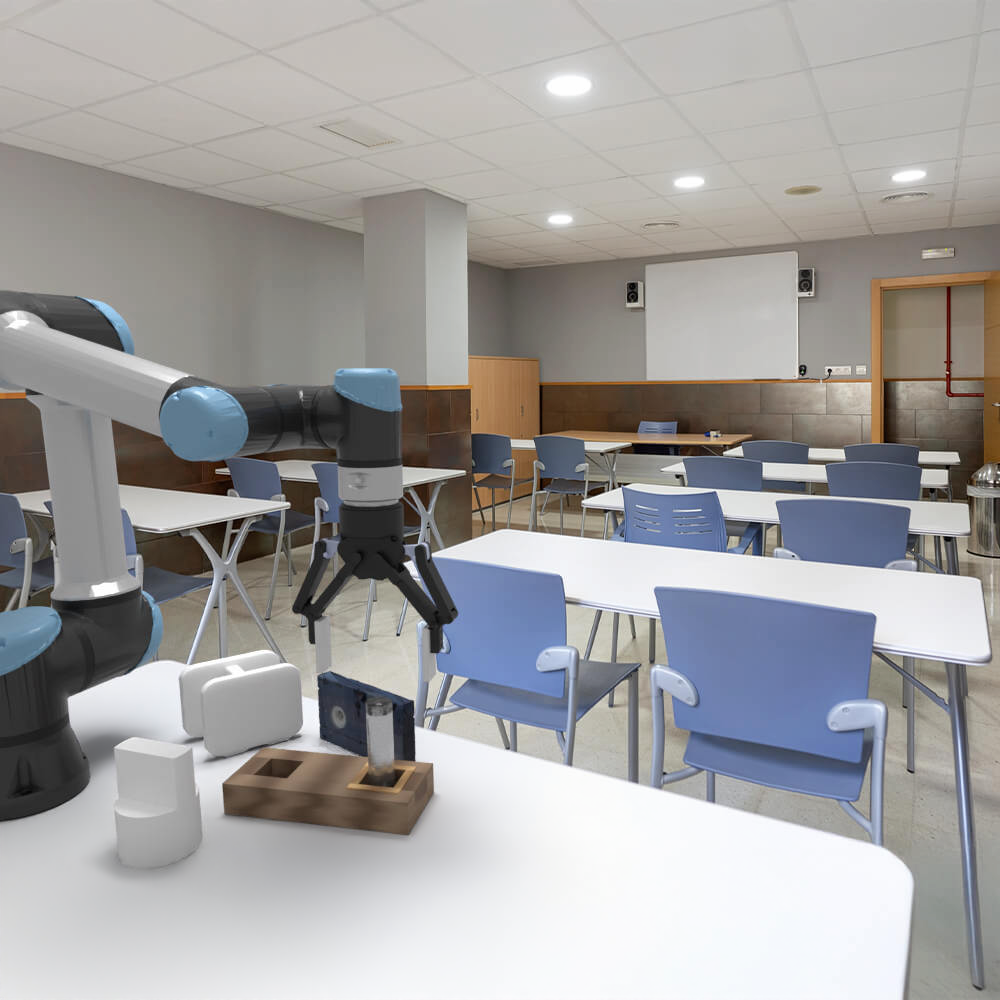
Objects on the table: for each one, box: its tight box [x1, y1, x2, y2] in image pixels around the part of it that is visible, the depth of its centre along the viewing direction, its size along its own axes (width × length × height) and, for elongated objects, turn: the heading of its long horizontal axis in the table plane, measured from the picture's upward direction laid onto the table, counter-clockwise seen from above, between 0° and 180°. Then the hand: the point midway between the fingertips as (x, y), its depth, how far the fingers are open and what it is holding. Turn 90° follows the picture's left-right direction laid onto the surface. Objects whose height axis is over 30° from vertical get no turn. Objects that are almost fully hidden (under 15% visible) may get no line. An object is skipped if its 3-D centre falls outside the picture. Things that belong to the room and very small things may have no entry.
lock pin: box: [366, 697, 395, 788], centre depth 100 cm, size 3×3×14 cm
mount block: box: [221, 747, 435, 836], centre depth 102 cm, size 24×10×4 cm, turn 77°
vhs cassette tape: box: [316, 670, 417, 762], centre depth 115 cm, size 18×3×10 cm, turn 49°
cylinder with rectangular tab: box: [113, 736, 203, 869], centre depth 93 cm, size 9×9×12 cm
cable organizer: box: [178, 649, 304, 758], centre depth 121 cm, size 15×11×12 cm
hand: (376, 673), depth 98 cm, fingers open, 13 cm apart
